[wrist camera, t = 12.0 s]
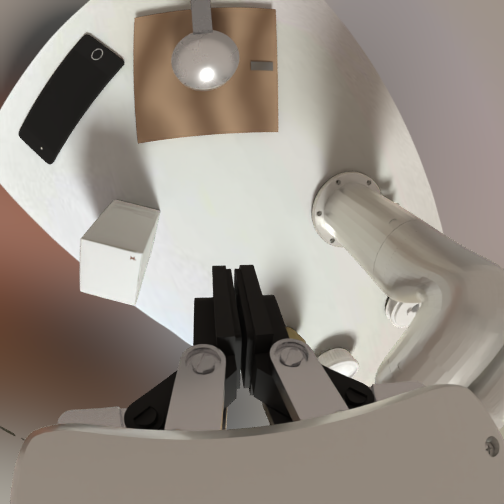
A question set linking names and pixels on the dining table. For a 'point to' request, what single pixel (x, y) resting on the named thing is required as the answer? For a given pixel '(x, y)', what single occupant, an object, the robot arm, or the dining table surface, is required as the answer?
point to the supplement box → (118, 251)
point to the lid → (401, 312)
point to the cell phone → (68, 96)
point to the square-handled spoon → (204, 53)
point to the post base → (214, 101)
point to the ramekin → (339, 361)
